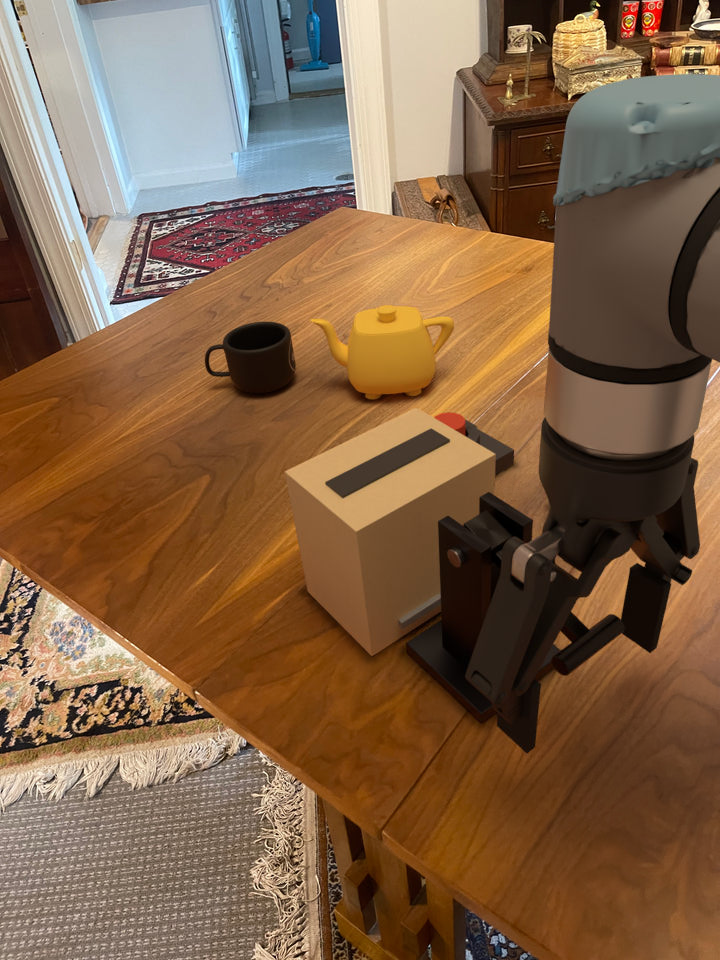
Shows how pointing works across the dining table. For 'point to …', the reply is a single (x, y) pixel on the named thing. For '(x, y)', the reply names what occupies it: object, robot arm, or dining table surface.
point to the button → (452, 421)
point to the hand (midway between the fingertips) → (579, 685)
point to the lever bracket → (467, 604)
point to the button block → (491, 446)
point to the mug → (257, 357)
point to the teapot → (388, 349)
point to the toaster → (385, 521)
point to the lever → (579, 635)
